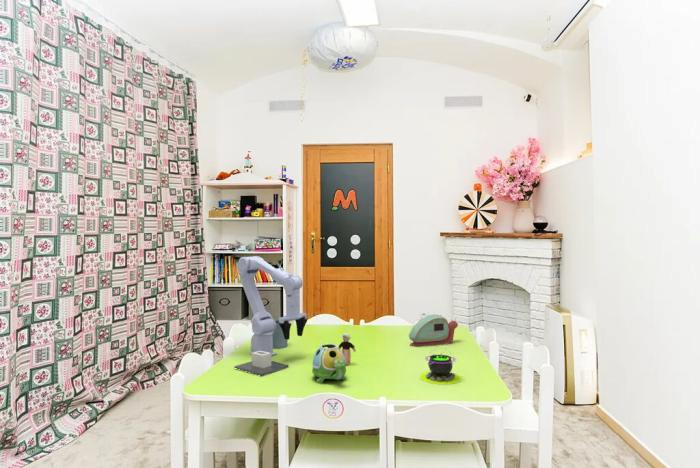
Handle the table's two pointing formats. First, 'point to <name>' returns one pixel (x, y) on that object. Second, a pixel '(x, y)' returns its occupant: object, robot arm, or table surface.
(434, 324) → the toy snail
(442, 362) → the toy cauldron
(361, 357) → the table surface
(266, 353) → the duct sleeve
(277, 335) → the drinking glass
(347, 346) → the grandmother figurine
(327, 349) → the turtle holder
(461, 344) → the table surface
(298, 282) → the robot arm
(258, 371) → the duct plate
